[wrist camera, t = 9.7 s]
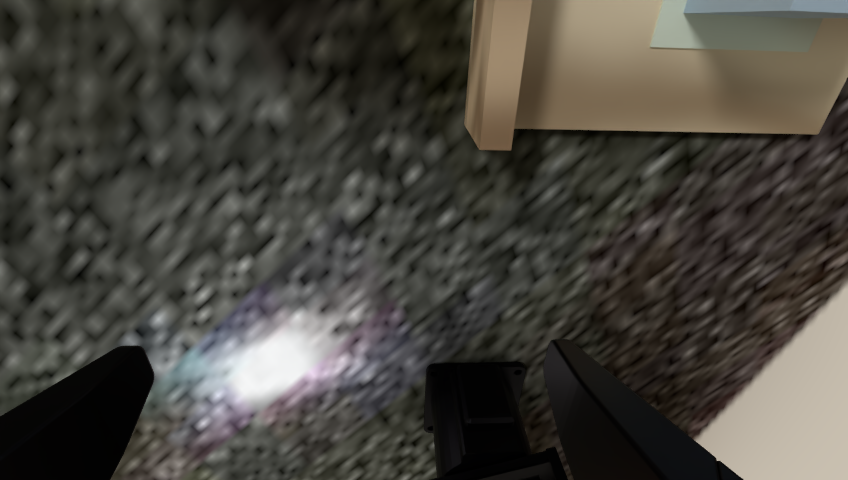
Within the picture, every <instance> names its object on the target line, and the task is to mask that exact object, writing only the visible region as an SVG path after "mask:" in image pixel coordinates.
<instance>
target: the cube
mask: <svg viewBox="0 0 848 480" xmlns="http://www.w3.org/2000/svg"><path fill="white" fill-rule="evenodd" d="M683 13H690V14H713V15H736V16H759V17H782V18H848V0H687V3H686V6H685V9H684V12H683Z"/></svg>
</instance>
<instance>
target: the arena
mask: <svg viewBox="0 0 848 480" xmlns="http://www.w3.org/2000/svg"><path fill="white" fill-rule="evenodd" d="M686 3H687V0H474V8H473V20H472V33H471V46H470V58H469V71H468V83H467V96H466V109H465V121H464V125H465V127H466V128H467V130H468V132H469V133H470V135H471V137H472V138H473V140H474V141H475V143H476V145H477V146H478V148H479V150H511V147H512V140H513V133H514V129H563V130H616V131H668V132H720V133H772V134H818V133H819V131H820V130H821V128H822V126H823V124H824V122H825V120H826V118H827V116H828V114H829V112H830V110H831V108H832V106H833V104H834V102H835V100H836V99H837V97H838V95H839V93H840V91H841V89H842V87H843V85H844V83H845V81H846V79H847V77H848V18H782V17H759V16H736V15H713V14H690V13H683V12H684V9H685V6H686Z"/></svg>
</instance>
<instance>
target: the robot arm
mask: <svg viewBox="0 0 848 480" xmlns="http://www.w3.org/2000/svg"><path fill="white" fill-rule="evenodd" d="M543 369H544V377H545V381H546V385H547V389H548V393H549V398H550V402H551V406H552V410H553V414H554V418H555V422H556V426H557V430H558V434H559V438H560V441H561V444H562V447H563V450H564V453H565V456H566V459H567V461H568V464H569V467H570V470H571V473H572V475H573V478H574V480H743V479H742V478H741V477H739V476H738V475H737V474H736V473H734V472H733V471H732V470H731V469H729V468H728V467H727V466H726V465H724V464H723V463H722V462H721V461H717V460H716V458H715V457H714V456H713V455H712V454H710V453H709V452H708V451H707V450H706V449H704V448H703V447H702V446H701V445H699V444H698V443H697V442H696V441H694V440H693V439H692V438H691V437H690V436H688V435H687V434H686V433H685V432H683V431H682V430H681V429H680V428H678V427H677V426H676V425H675V424H673V423H672V422H671V421H670V420H668V419H667V418H666V417H665V416H663V415H662V414H661V413H660V412H658V411H657V410H656V409H655V408H654V407H652V406H651V405H650V404H649V403H647V402H646V401H645V400H644V399H642V398H641V397H640V396H639V395H637V394H636V393H635V392H634V391H632V390H631V389H630V388H629V387H627V386H626V385H625V384H624V383H622V382H621V381H620V380H619V379H618V378H616V377H615V376H614V375H613V374H611V373H610V372H609V371H608V370H606V369H605V368H604V367H603V366H601V365H600V364H599V363H598V362H596V361H595V360H594V359H593V358H591V357H590V356H589V355H588V354H586V353H585V352H584V351H583V350H582V349H580V348H579V347H578V346H577V345H575V344H574V343H573V342H571V341H570V340H567V339H558V340H551V341H550V343H549V346H548V350H547V354H546V358H545V362H544V368H543ZM433 371H436V372H433ZM525 373H526V371H525V367H524V365H523V364H522V363H520V362H502V363H444V364H431V365H429V366H428V367H427V369H426V387H425V408H424V430H425V431H426V432H428V433H434V445H435V457H436V470H437V478H435V479H431V480H568V479H567V476H566V474H565V471H564V468H563V466H562V463H561V461H560V458H559V455H558V453H557V450H556V448H555V447H552V448H548V449H546V451H543V452H539V453H535V454H532V451H531V448H530V445H529V442H528V438H527V435H526V432H525V428H524V425H523V422H522V418H521V415H520V412H519V409H518V404H519V400H520V395H521V391H522V386H523V382H524V377H525ZM153 382H154V371H153V369H152V366H151V364H150V362H149V359H148V357H147V355H146V352H145V350H144V349H143V348H142V347H141V346H120V347H117V348H115V349H113V350H112V351H110V352H108V353H107V354H105V355H103V356H102V357H100V358H98V359H97V360H95V361H93V362H91V363H90V364H88V365H86V366H85V367H83V368H81V369H80V370H78V371H76V372H75V373H73V374H71V375H70V376H68V377H66V378H64V379H63V380H61V381H59V382H58V383H56V384H54V385H53V386H51V387H49V388H48V389H46V390H44V391H42V392H41V393H39V394H37V395H36V396H34V397H32V398H31V399H29V400H27V401H26V402H24V403H22V404H20V405H19V406H17V407H15V408H14V409H12V410H10V411H9V412H7V413H5V414H4V415H2V416H0V480H110V479H111V477H112V475H113V473H114V471H115V470H116V468H117V466H118V464H119V462H120V460H121V458H122V456H123V454H124V452H125V450H126V447H127V445H128V443H129V441H130V438H131V436H132V433H133V431H134V428H135V426H136V424H137V421H138V419H139V416H140V414H141V412H142V409H143V407H144V404H145V402H146V399H147V397H148V395H149V392H150V390H151V387H152V385H153Z"/></svg>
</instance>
